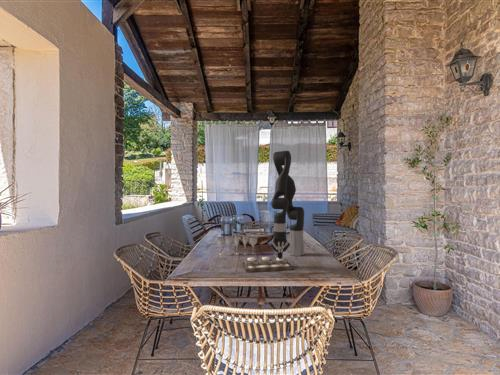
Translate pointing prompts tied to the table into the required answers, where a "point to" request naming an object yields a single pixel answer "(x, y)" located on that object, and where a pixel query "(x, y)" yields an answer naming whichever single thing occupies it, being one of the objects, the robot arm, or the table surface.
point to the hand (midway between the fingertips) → (279, 258)
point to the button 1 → (251, 259)
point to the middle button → (265, 258)
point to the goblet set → (236, 239)
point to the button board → (266, 265)
